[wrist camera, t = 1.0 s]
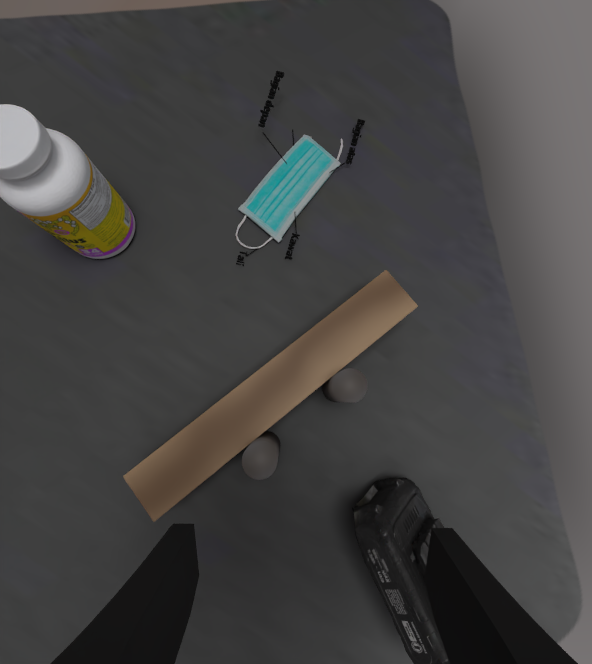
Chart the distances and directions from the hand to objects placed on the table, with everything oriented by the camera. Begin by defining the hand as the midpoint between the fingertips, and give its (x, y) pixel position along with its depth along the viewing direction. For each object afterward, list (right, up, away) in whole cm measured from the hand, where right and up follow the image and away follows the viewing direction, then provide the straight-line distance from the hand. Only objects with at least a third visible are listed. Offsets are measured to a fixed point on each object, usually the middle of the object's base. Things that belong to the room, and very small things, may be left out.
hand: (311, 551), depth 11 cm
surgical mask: (0, +21, +26) cm, 34 cm away
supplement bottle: (-19, +17, +24) cm, 35 cm away
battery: (+9, -12, +20) cm, 25 cm away
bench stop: (-1, +1, +22) cm, 22 cm away
